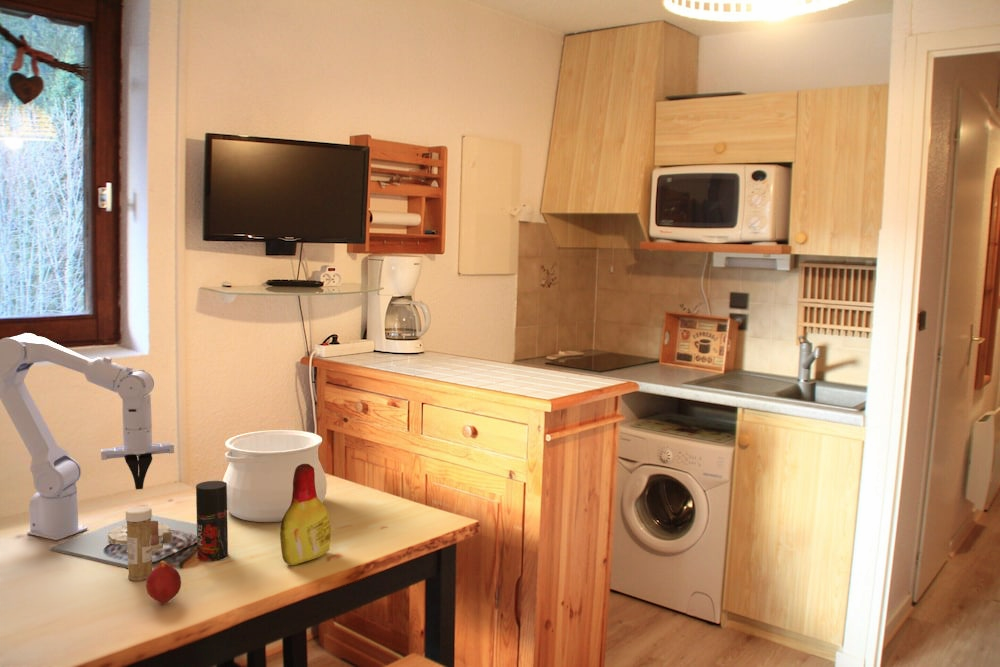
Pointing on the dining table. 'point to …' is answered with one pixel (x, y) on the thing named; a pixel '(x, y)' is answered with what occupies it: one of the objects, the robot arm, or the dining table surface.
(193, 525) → the post board
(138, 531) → the sprinkles bottle
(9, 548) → the dining table surface
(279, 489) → the pot
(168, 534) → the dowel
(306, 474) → the bottle
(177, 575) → the onion
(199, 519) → the deodorant
